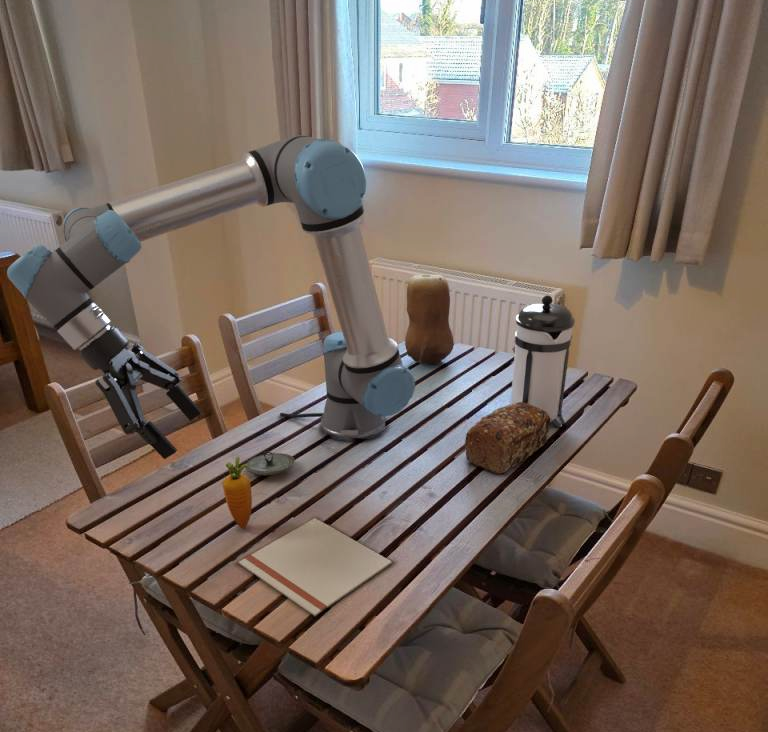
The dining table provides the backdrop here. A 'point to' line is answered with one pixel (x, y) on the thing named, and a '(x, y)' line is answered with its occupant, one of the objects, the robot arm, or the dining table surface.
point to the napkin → (315, 565)
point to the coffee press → (542, 356)
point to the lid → (269, 463)
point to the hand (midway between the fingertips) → (184, 434)
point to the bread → (507, 436)
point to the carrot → (238, 494)
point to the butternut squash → (428, 319)
